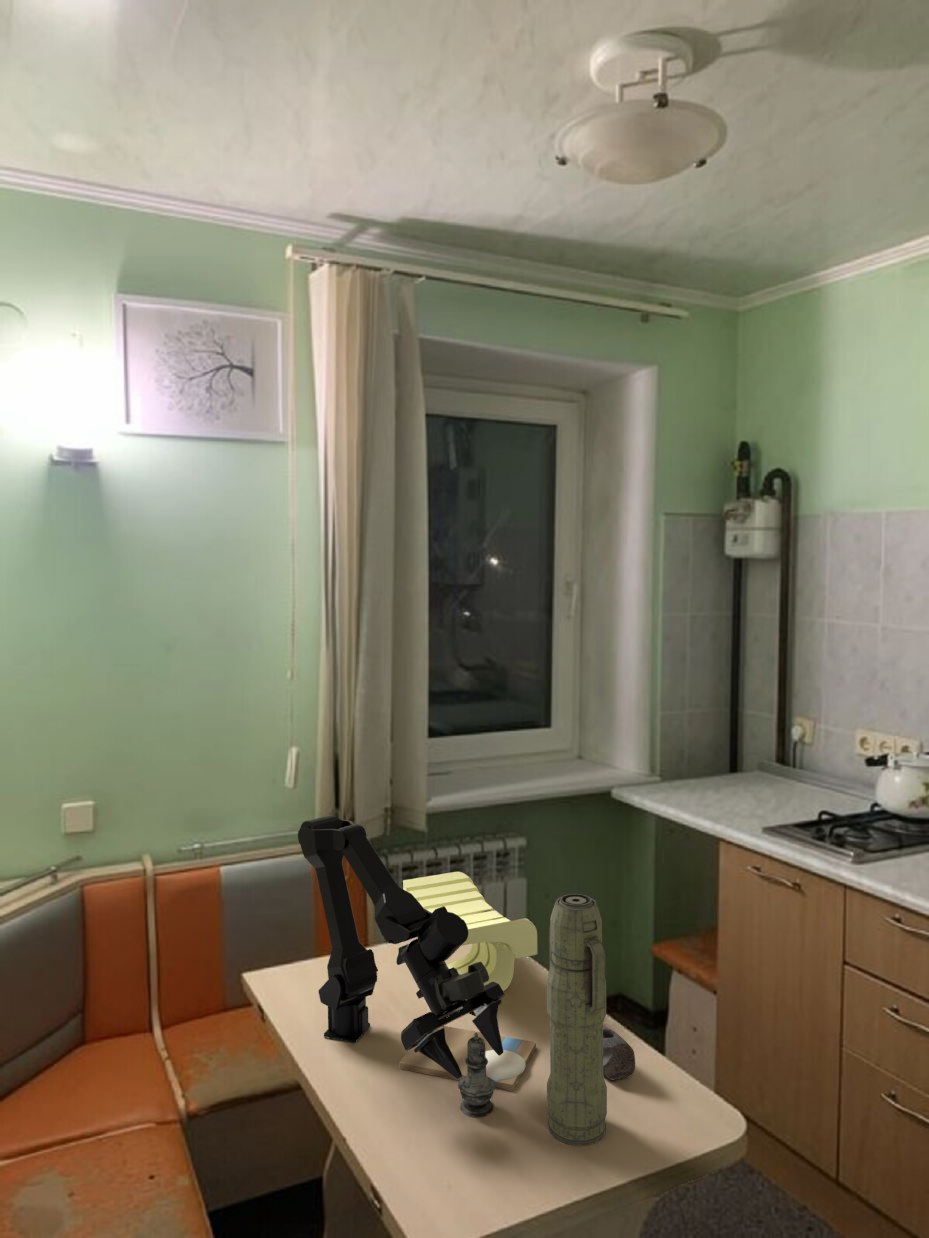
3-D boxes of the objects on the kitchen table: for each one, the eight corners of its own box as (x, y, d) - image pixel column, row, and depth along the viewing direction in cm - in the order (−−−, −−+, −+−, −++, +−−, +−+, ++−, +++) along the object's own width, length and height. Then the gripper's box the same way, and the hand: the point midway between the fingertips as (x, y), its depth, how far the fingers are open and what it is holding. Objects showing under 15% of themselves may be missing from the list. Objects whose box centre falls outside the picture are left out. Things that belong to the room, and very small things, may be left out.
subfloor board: (399, 1068, 153) (399, 1062, 153) (430, 1028, 166) (430, 1022, 166) (515, 1091, 146) (515, 1084, 146) (538, 1047, 159) (538, 1041, 159)
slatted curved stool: (537, 1006, 174) (537, 915, 173) (462, 1024, 168) (461, 930, 167) (471, 947, 202) (470, 869, 201) (404, 961, 195) (403, 880, 194)
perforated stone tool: (564, 1047, 160) (564, 1009, 159) (589, 1040, 162) (589, 1002, 161) (611, 1092, 146) (611, 1050, 146) (638, 1084, 148) (638, 1042, 148)
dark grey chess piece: (469, 1122, 138) (468, 1045, 137) (451, 1102, 143) (450, 1028, 143) (502, 1111, 141) (502, 1036, 140) (484, 1092, 146) (483, 1019, 145)
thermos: (583, 1159, 129) (582, 918, 127) (529, 1119, 139) (527, 894, 137) (626, 1135, 134) (626, 904, 133) (571, 1098, 144) (570, 882, 142)
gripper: (411, 969, 137) (463, 1067, 130) (495, 933, 150) (547, 1020, 143) (379, 1002, 143) (427, 1098, 136) (463, 965, 156) (511, 1051, 149)
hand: (481, 1065), depth 141 cm, fingers open, 9 cm apart
